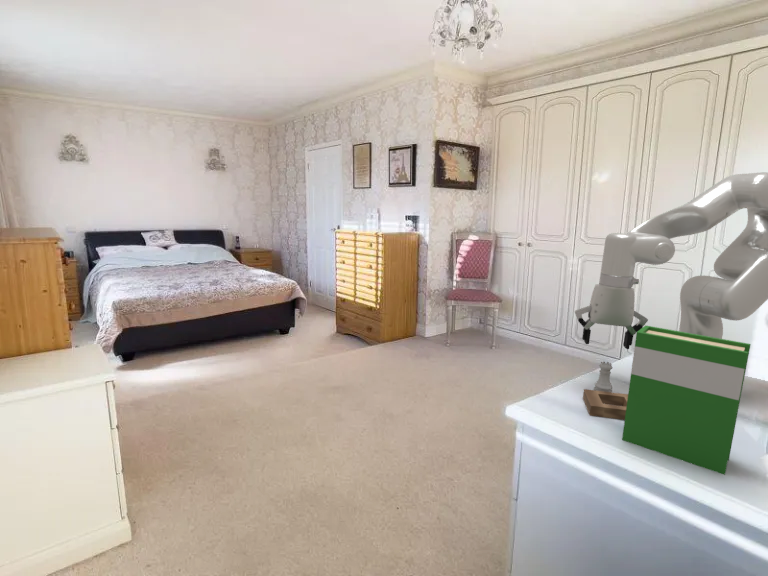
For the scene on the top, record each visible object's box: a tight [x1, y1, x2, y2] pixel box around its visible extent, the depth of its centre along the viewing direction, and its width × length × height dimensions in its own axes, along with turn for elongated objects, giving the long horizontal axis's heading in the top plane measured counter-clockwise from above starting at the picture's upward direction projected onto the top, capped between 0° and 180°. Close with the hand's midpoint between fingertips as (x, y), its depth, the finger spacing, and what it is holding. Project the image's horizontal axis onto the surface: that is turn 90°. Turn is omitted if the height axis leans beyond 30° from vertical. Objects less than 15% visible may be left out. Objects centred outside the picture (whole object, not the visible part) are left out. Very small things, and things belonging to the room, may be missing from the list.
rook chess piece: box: [593, 361, 613, 393], centre depth 118 cm, size 4×4×8 cm
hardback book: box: [621, 324, 751, 476], centre depth 89 cm, size 18×7×24 cm, turn 47°
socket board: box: [582, 388, 628, 421], centre depth 108 cm, size 16×10×2 cm, turn 75°
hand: (606, 345), depth 117 cm, fingers open, 9 cm apart
